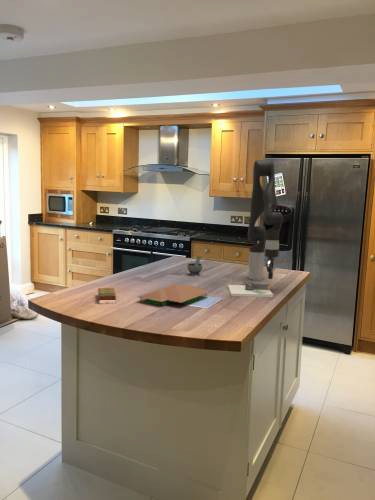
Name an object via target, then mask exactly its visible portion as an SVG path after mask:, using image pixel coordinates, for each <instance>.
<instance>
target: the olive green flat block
mask: <svg viewBox="0 0 375 500" xmlns="http://www.w3.org/2000/svg"><path fill="white" fill-rule="evenodd" d="M97 292H98V295H99V297H98V301H99V300H116V301H117V297H116V296H117V295H116V291H115V287H99V288H98V291H97ZM98 295H97V296H98Z"/></svg>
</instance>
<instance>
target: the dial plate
mask: <svg viewBox="0 0 375 500" xmlns="http://www.w3.org/2000/svg"><path fill="white" fill-rule="evenodd" d="M227 289H228V292H229V293H230V296H231V297H236V298H237V297H238V298H239V297H241V298H242V297H243V298H248V297H249V298H274V294H273V292H272V291H271V289H254V290H246V289H245V284H227Z"/></svg>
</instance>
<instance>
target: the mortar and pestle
mask: <svg viewBox="0 0 375 500" xmlns="http://www.w3.org/2000/svg"><path fill="white" fill-rule="evenodd" d="M201 258H202V257H201V256H200V255H197V256H196V259H195V262H190V263H186V264H187V270H188V272H189V276H191V275H199V276H200V272H201V271H202V270H203V264H202V263H200V262H201V261H200V260H201Z"/></svg>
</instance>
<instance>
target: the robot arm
mask: <svg viewBox="0 0 375 500" xmlns="http://www.w3.org/2000/svg"><path fill="white" fill-rule="evenodd" d="M252 173H253V174H252V175H253V177H252V190H251V191H252V192H251V198H250V199H251V202H250V216H249V222H248V227H247V228H248V230H247V239H248V241H253V242H258V243H256V244H254V245H251V246H249V253H248V277H247V278H248V279H249V280H252V281H253V280H254V281H261V280H263V279H264V264H265V262H264V261H265V257H267V260H266V265H265V266H266V271H267V272H268V275H267V276H268V277H267V278H268V280H272V279H273V278H274V271H275V270H276V269H275V268H276V265H277V261H276V258H278V257H279V253H280V252H279V251H280V231H281V228H282V225H283V223H284V216H283V213H282V212H279V211H273V210H276V209H277V208H278V200H277V194H276V179H275V178H276V177H275V176H276V175H275V173H276V172H275V165H274V162H273V160H271V159H259V160H255V162H254V164H253V172H252ZM261 177H268V182H267V185H266V187H265V189H264V188H263V186H262V184H261V182H260V181H261V180H260V179H261ZM261 215H263V222H264V224H265V225H267V226H273V227H272V228H268V229H267V230H266V227H265V226H262V225H256V223H257V221H258V219H259V218H260V217H261Z"/></svg>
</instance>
